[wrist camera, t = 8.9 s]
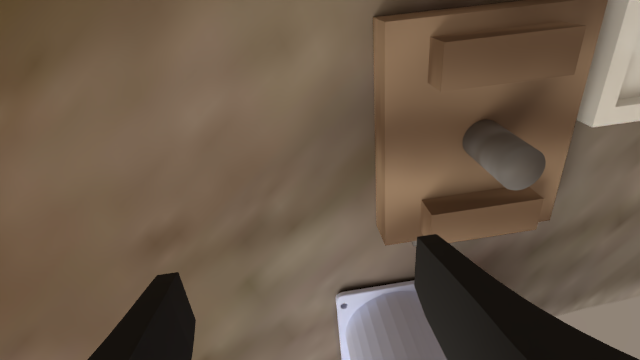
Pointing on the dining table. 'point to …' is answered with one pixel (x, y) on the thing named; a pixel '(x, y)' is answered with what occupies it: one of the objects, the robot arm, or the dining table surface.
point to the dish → (614, 69)
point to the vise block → (477, 114)
